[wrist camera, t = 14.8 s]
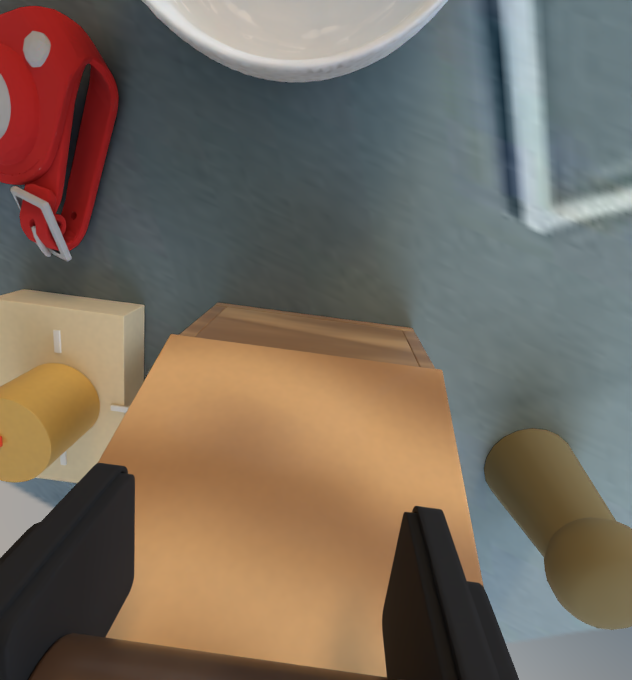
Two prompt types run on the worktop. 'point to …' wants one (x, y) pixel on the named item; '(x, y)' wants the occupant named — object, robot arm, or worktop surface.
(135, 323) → the lock plate
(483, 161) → the worktop surface
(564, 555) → the cork
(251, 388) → the hinged box cover
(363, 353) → the chest
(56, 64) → the tracker holder
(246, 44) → the cereal bowl
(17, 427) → the lock knob
